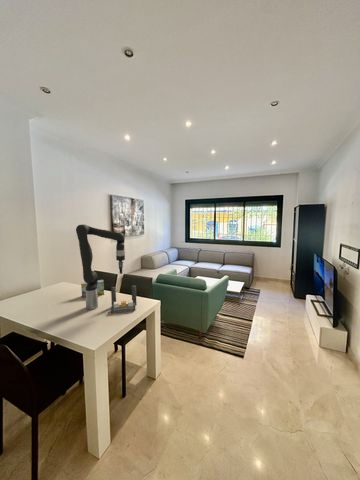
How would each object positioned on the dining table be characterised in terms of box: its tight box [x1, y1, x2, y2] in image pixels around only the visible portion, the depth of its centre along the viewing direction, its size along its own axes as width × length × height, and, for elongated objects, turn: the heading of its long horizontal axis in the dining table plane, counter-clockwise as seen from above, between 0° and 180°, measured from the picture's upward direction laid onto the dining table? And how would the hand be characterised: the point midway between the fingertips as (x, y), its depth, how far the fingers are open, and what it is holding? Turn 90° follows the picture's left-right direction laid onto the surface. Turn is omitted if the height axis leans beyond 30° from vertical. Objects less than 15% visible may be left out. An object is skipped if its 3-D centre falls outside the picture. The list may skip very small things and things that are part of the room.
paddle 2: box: [127, 299, 133, 306], centre depth 173 cm, size 4×4×4 cm
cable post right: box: [131, 285, 137, 306], centre depth 182 cm, size 4×4×18 cm
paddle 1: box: [114, 301, 120, 308], centre depth 170 cm, size 4×4×4 cm
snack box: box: [80, 279, 105, 298], centre depth 204 cm, size 21×6×15 cm, turn 112°
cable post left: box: [110, 286, 117, 306], centre depth 178 cm, size 4×4×18 cm
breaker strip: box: [110, 302, 136, 314], centre depth 171 cm, size 20×7×5 cm, turn 103°
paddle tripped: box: [120, 300, 127, 307], centre depth 171 cm, size 4×4×4 cm
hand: (121, 273), depth 178 cm, fingers closed
